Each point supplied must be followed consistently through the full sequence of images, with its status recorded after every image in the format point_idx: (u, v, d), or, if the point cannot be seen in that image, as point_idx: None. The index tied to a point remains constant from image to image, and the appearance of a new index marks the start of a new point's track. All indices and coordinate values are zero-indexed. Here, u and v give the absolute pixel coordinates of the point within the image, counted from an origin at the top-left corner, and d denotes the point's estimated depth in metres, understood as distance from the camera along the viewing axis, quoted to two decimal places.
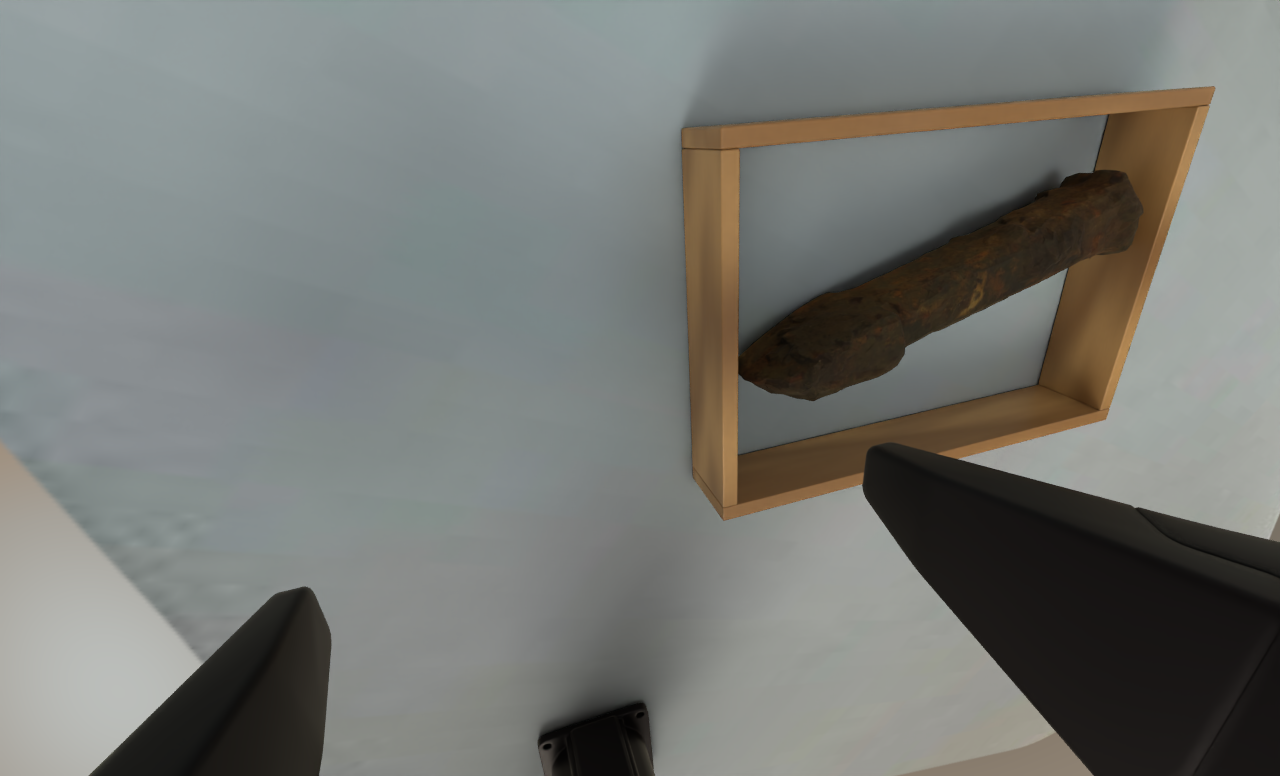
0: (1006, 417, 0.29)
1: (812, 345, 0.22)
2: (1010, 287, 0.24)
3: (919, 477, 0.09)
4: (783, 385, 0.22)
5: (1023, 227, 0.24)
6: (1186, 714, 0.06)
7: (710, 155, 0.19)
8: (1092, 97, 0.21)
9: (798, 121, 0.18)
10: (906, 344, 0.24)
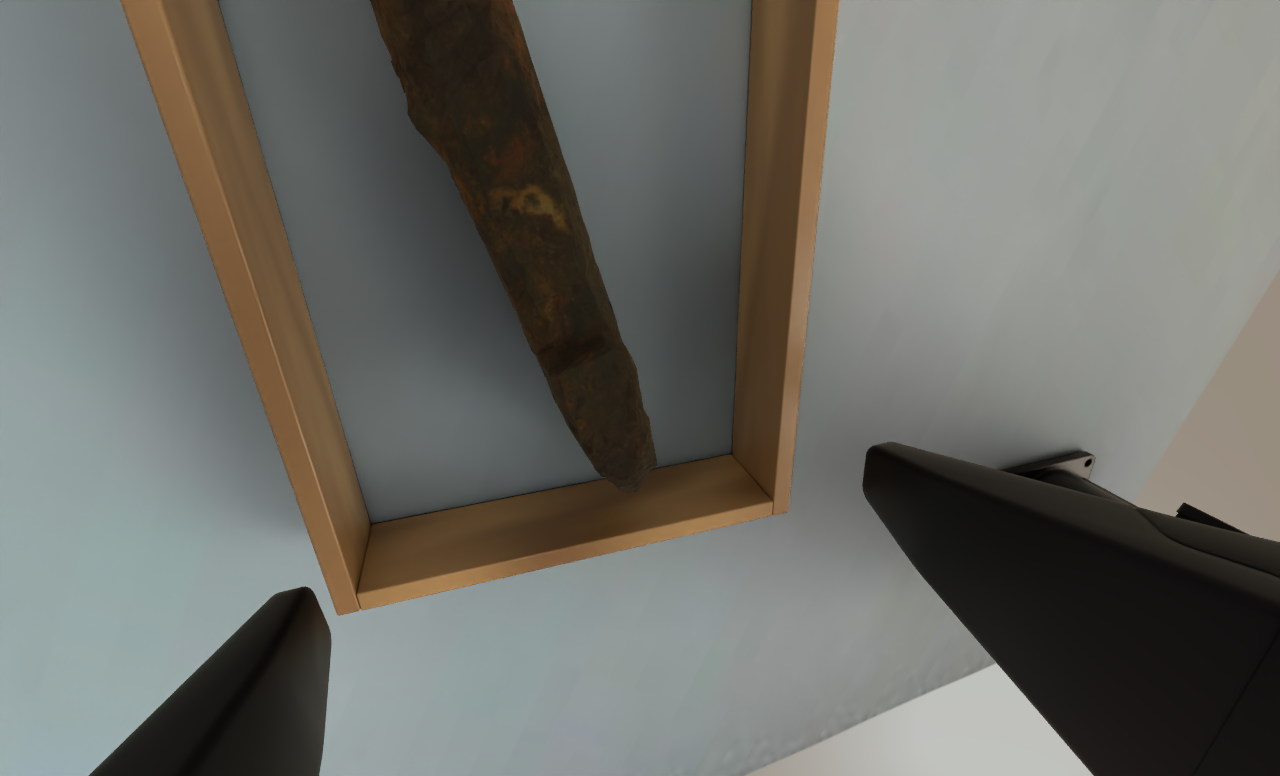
0: None
1: None
2: (520, 117, 0.13)
3: (919, 477, 0.09)
4: None
5: (410, 95, 0.13)
6: (1186, 714, 0.06)
7: None
8: (128, 20, 0.11)
9: (313, 543, 0.16)
10: (601, 320, 0.16)
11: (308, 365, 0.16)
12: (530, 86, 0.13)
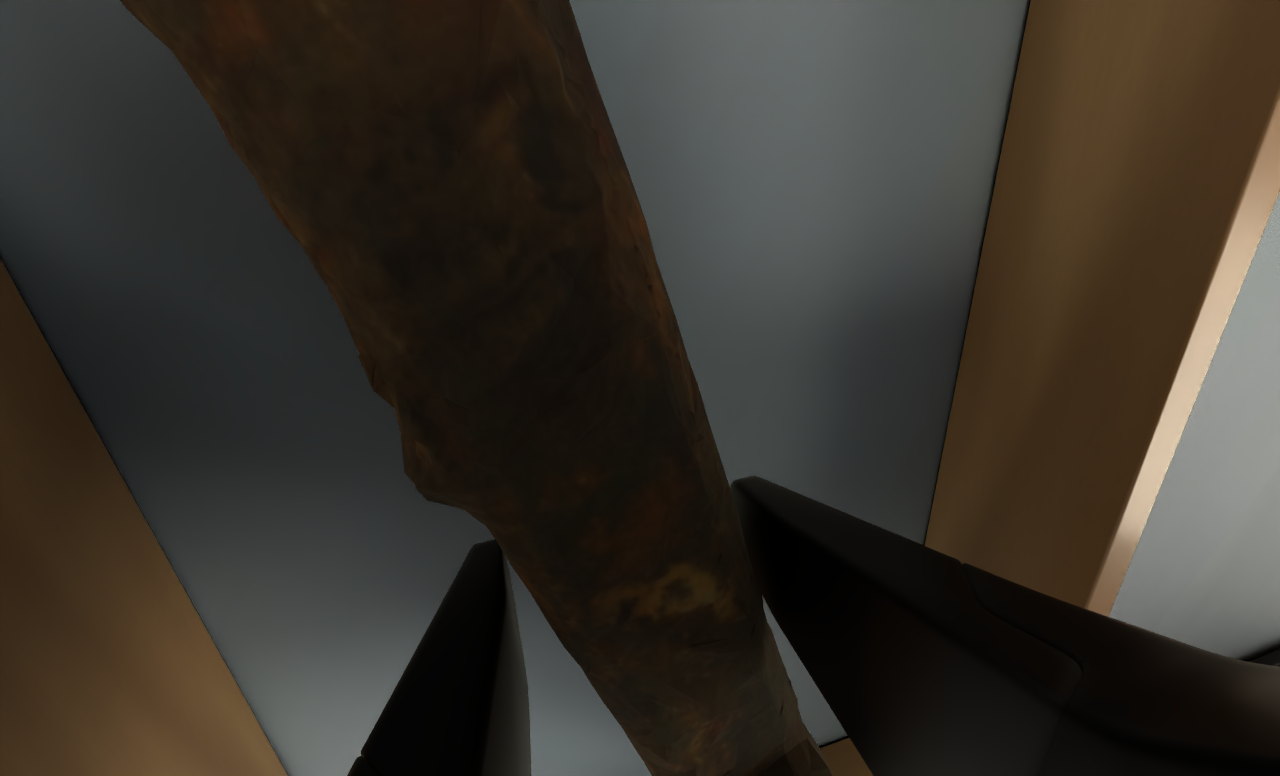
0: (1154, 90, 0.07)
1: None
2: (659, 450, 0.06)
3: (767, 518, 0.08)
4: None
5: (409, 439, 0.05)
6: None
7: None
8: None
9: None
10: (783, 728, 0.08)
11: None
12: (678, 379, 0.06)
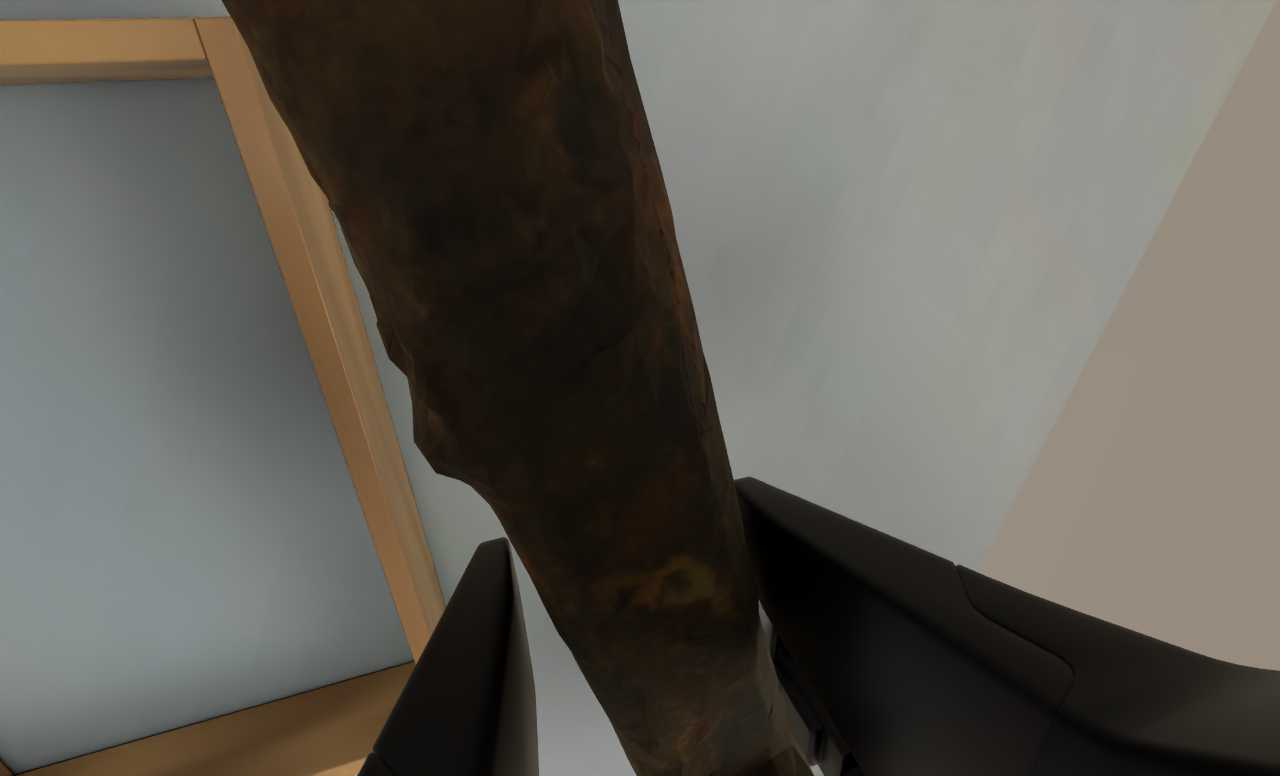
0: None
1: None
2: (669, 438, 0.06)
3: (762, 519, 0.08)
4: None
5: (421, 409, 0.05)
6: None
7: None
8: None
9: None
10: (771, 732, 0.08)
11: None
12: (692, 368, 0.06)
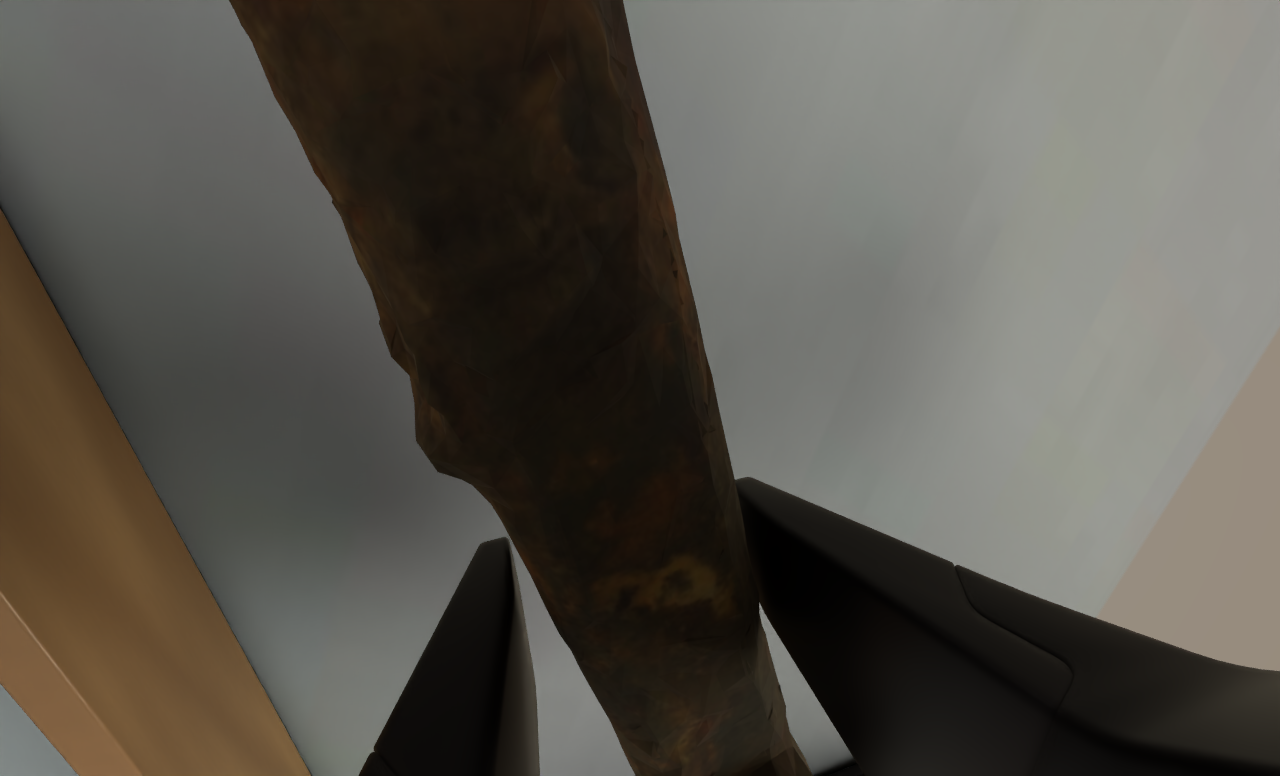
0: None
1: None
2: (671, 437, 0.06)
3: (761, 520, 0.08)
4: None
5: (424, 407, 0.05)
6: None
7: None
8: None
9: None
10: (771, 733, 0.08)
11: None
12: (695, 369, 0.06)
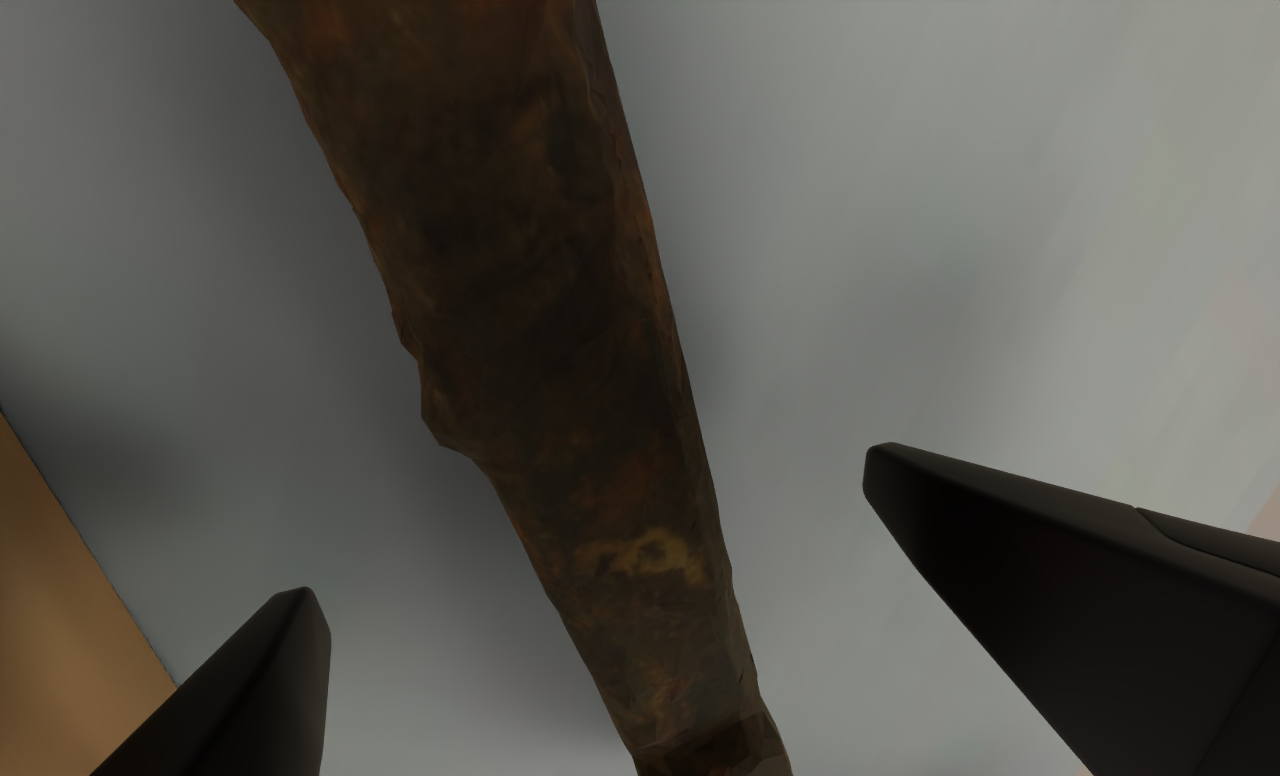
0: None
1: None
2: (646, 421, 0.07)
3: (919, 477, 0.09)
4: None
5: (428, 388, 0.06)
6: (1185, 714, 0.06)
7: None
8: None
9: None
10: (741, 696, 0.09)
11: None
12: (669, 360, 0.07)
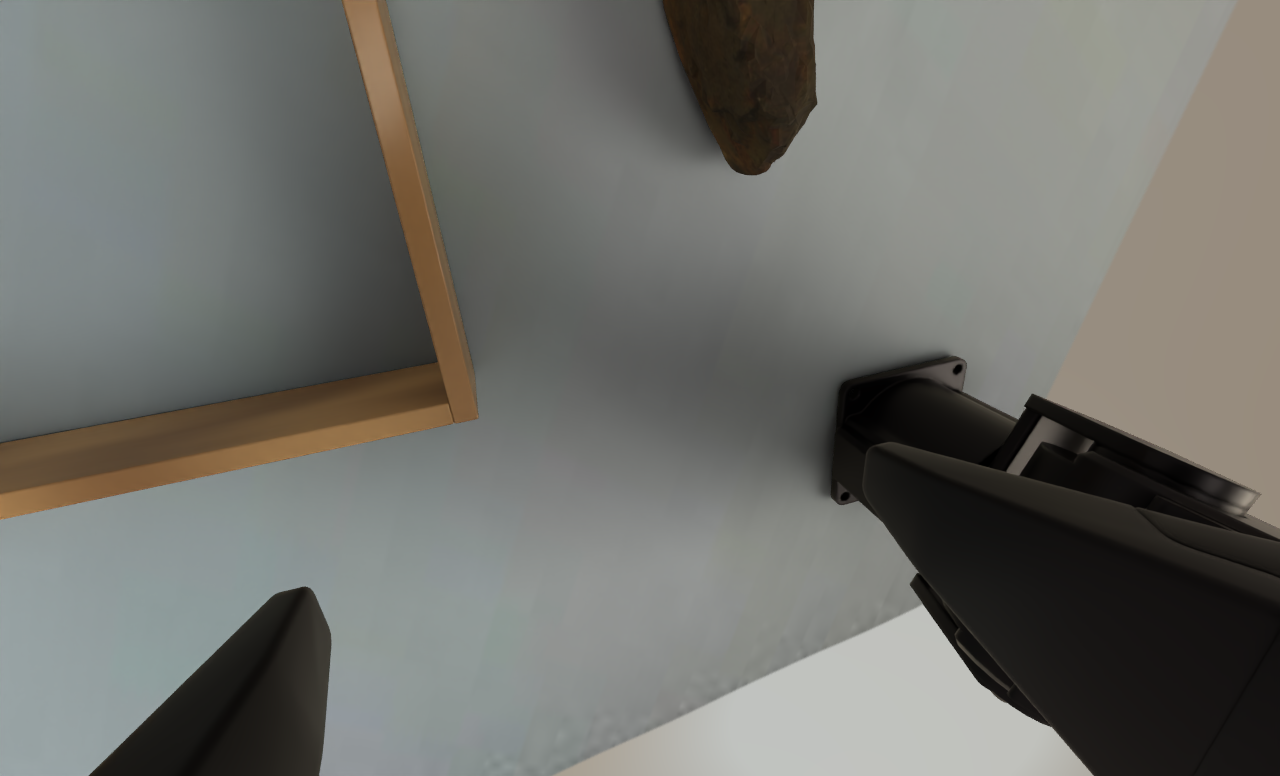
0: None
1: (734, 90, 0.15)
2: None
3: (919, 477, 0.09)
4: (779, 150, 0.16)
5: None
6: (1186, 714, 0.06)
7: None
8: None
9: None
10: None
11: None
12: None
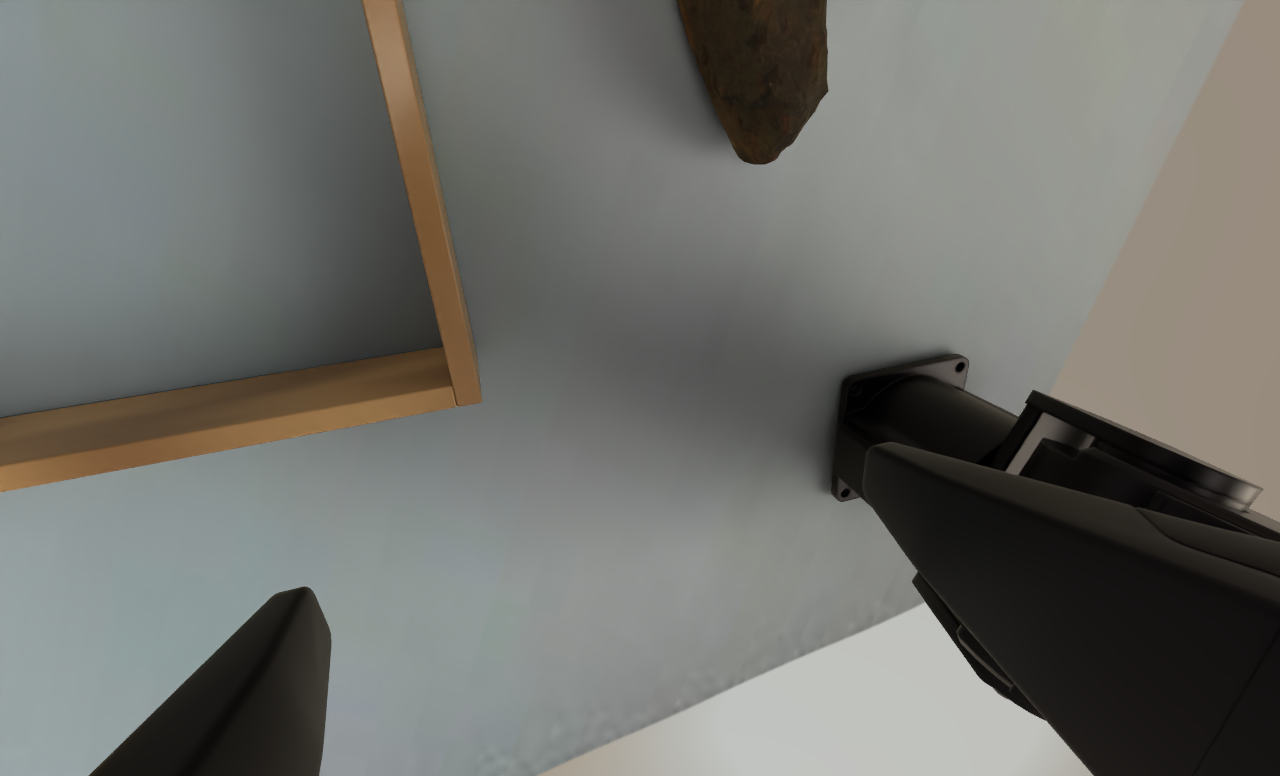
0: None
1: (745, 76, 0.15)
2: None
3: (919, 477, 0.09)
4: (789, 137, 0.16)
5: None
6: (1186, 714, 0.06)
7: None
8: None
9: None
10: None
11: None
12: None
